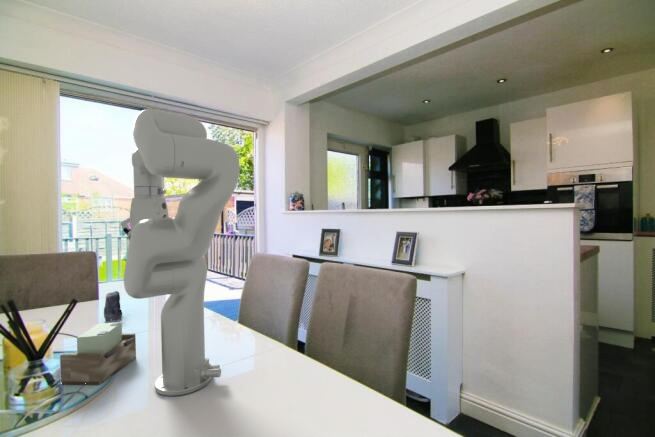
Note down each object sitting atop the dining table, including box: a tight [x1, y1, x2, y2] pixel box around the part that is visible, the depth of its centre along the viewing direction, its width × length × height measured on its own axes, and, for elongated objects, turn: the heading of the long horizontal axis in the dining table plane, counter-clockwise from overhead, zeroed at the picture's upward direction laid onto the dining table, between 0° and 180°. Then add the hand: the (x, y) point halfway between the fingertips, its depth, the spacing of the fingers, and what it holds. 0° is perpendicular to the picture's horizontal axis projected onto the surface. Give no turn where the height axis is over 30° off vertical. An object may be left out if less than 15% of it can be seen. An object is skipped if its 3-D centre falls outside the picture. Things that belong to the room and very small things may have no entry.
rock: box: [103, 290, 123, 321], centre depth 128 cm, size 10×6×10 cm, turn 31°
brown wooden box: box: [59, 333, 137, 386], centre depth 84 cm, size 14×11×7 cm
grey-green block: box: [76, 321, 123, 356], centre depth 84 cm, size 10×6×5 cm, turn 11°
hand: (149, 249), depth 98 cm, fingers open, 9 cm apart
